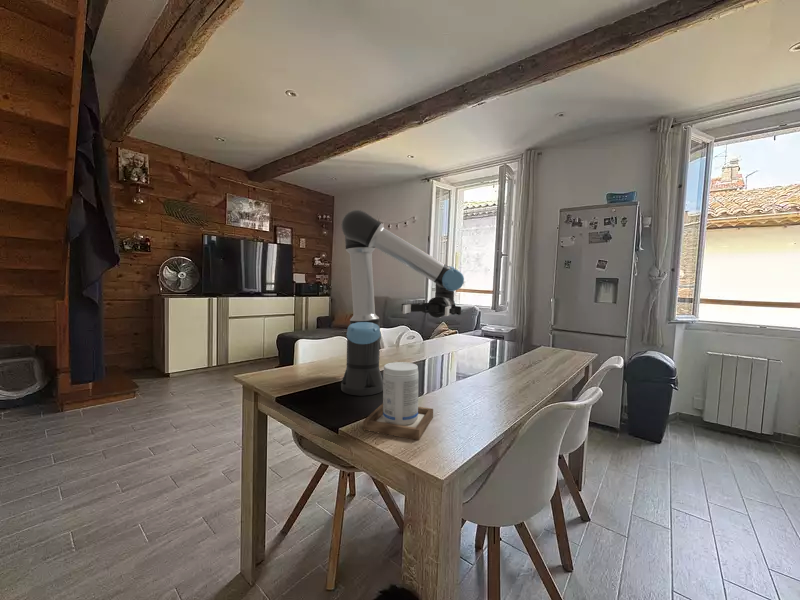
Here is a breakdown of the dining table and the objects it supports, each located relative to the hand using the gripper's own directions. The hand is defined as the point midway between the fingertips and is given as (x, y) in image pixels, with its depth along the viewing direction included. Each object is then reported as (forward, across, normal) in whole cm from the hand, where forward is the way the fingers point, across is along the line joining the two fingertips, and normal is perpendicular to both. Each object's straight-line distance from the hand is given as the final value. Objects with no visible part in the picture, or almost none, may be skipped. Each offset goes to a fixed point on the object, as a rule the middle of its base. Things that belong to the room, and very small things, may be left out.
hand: (424, 310), depth 103 cm
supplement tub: (+16, +2, -29) cm, 33 cm away
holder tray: (+16, +2, -30) cm, 34 cm away
